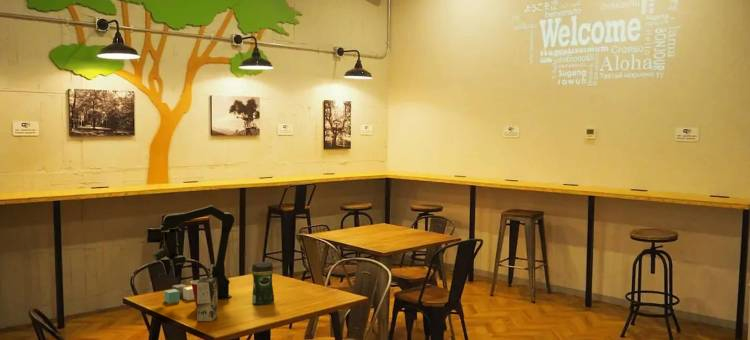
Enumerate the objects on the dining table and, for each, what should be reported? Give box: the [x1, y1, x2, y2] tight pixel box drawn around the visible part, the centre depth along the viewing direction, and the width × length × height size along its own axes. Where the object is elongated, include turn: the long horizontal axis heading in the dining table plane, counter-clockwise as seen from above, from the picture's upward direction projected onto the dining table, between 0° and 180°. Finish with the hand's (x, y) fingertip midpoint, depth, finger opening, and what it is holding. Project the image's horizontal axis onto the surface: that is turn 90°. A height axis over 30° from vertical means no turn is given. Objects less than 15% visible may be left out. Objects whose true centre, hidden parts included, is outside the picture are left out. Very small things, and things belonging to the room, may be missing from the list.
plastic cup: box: [190, 279, 200, 309], centre depth 298 cm, size 11×11×12 cm
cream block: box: [182, 285, 195, 301], centre depth 315 cm, size 5×5×5 cm
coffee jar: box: [251, 261, 275, 306], centre depth 306 cm, size 10×8×19 cm
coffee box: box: [196, 277, 219, 322], centre depth 282 cm, size 9×6×16 cm
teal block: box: [163, 288, 181, 304], centre depth 309 cm, size 5×5×5 cm
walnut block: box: [172, 283, 188, 298], centre depth 319 cm, size 5×5×5 cm
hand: (171, 276), depth 308 cm, fingers open, 9 cm apart
